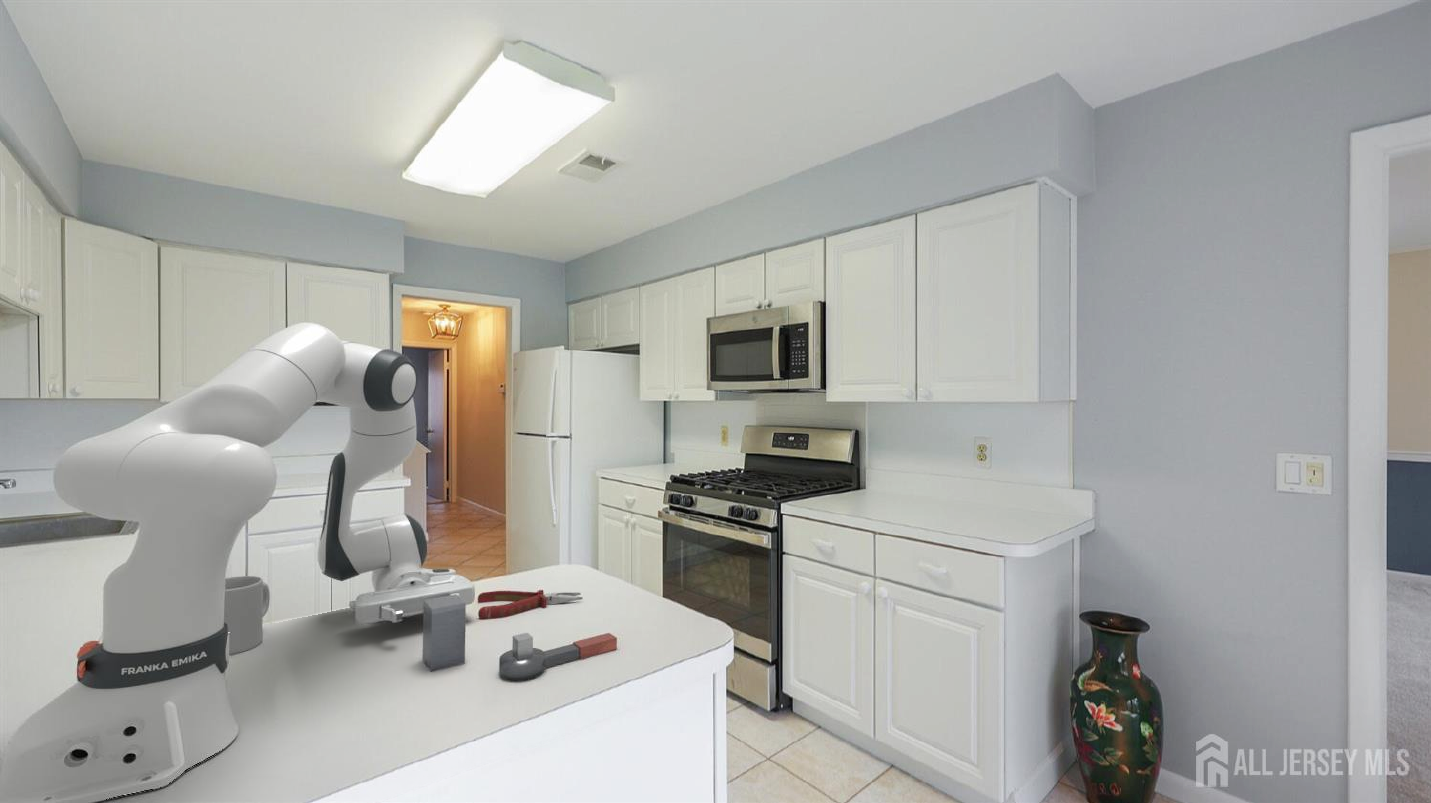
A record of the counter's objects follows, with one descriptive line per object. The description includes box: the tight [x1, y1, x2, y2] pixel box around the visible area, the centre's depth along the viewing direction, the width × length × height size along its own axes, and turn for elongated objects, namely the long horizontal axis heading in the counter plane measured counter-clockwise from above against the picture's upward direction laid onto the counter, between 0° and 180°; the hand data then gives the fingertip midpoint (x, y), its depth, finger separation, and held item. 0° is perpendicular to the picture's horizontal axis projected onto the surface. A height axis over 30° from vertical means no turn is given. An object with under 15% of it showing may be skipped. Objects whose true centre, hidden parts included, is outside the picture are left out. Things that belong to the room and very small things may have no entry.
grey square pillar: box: [422, 595, 467, 672], centre depth 101 cm, size 5×5×10 cm
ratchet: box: [498, 632, 618, 682], centre depth 102 cm, size 20×7×6 cm, turn 129°
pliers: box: [477, 589, 584, 620], centre depth 129 cm, size 12×21×3 cm, turn 112°
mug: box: [224, 575, 271, 656], centre depth 107 cm, size 12×8×11 cm
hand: (427, 611), depth 109 cm, fingers open, 8 cm apart
